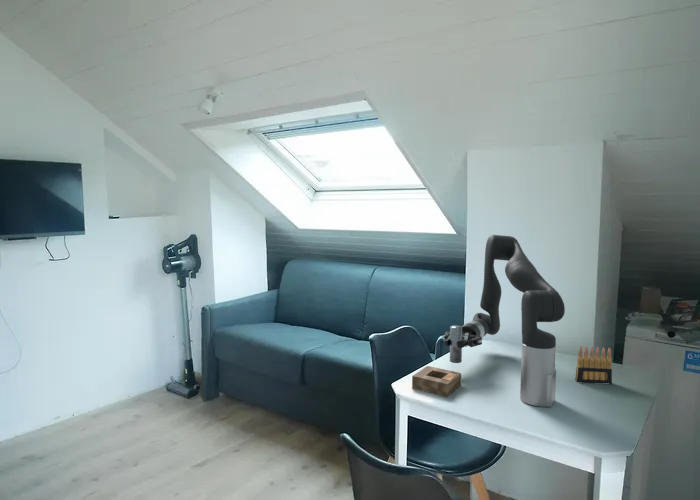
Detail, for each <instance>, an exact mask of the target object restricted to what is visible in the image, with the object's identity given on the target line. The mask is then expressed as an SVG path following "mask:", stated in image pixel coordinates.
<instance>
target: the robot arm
mask: <svg viewBox="0 0 700 500" xmlns="http://www.w3.org/2000/svg"><path fill="white" fill-rule="evenodd" d="M495 260H498V261H507V262H506V264H505V267H504V271H505V272H504V273H505V275H506V278H507V279H508V281H509V282H510V285H512V286H513V287H514V288H515V289H516V290H517V291H519V292H521V293H523V294H522V297H521V303H520V305H521V308H520V309H521V312H520V313H521V337H522V338H521V358H520V359H521V361H520V363H521V364H520V365H521V366H520V391H519V394H520V395H519V398H520V401H522V402H524V403H525V404H528V405H530V406H534V407H547V408H552V406H553V404H554V402H555V401H556V385H557V369H556V368H555V366H556V350H557V349H556V347H557V346H556V343H557V339H556V336H555V335H554V334H552V333H550V332H548V331H545V330H542V329H540V328H539V327H538V323H555V322H559V321H560V320H562V319H563V317H564V315H565V313H566V312H565V311H566V308H565V303H564V300H563V298H562V296H561V295H560V293H559V292H558V291H557V290H556V289H555V288H554V287H553V286H552V285H551V284H549V282H547V280H545V278H544V277H543V276H542V275H541V274H540V272H539V271H538V270H537V268H536V267H535V266H534V264H533V263H532V261H530V260H529V258H528V256H527V255H526V254H525V252H524V250H523V249H522V247H521V245H520V243H519V241H518V239H517V238H515V237H514V236H511V235H501V234H491V235H489V236H488V238H487V240H486V244H485V253H484V268H483V272H484V274H483V286H482V293H481V298H480V308H481V309H482V310H483V311H485V312H486V314H485V313H483V312H477V313H475V315H473V317H472V320H471V321H469V322H466V323H465V324H463V325H461V326H462V340H461V341H460V342H458V348H459V349H461V348H462V349H463V348H466V347H469V348H474V347H477V346H481V345H483V337H485V336H487V334H488V335H489V336H490V335H491V336H495V335H496V334H498V333H499V331H500V330H501V329H500V328H501V320H500V302H501V297H502V286H501V284H500V281H499V279H498V277H497V274H496V270H495ZM487 313H488V314H487ZM443 336H444V337H443V338H444V341H443V343H444V345H445V347H450V331H445V333H444V335H443Z"/></svg>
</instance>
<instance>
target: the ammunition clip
mask: <svg viewBox="0 0 700 500" xmlns="http://www.w3.org/2000/svg"><path fill="white" fill-rule="evenodd" d="M600 352H601V354H600ZM577 356H578V357H577V360H576V361H577V362H576V369H575V380H574V381H575V382H576V383H578V382H582V383H581V384H595V383H609V384H608V385H613V369H612V366H613V365H612V361H613V360H612V349H611V347H608V349H607V354H606V349H605V347H604V346H603V347H602V349H601V351H600V348H599V347H598V346H597V347H596V350H595V352H594V347H593V346H591V347H590V351H589V349H588V346H585V348H584V352H583V347H582V346H580V347H579V348H578V355H577Z"/></svg>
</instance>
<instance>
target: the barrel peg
mask: <svg viewBox="0 0 700 500" xmlns="http://www.w3.org/2000/svg"><path fill="white" fill-rule="evenodd" d="M462 326H463V325H457V324H454V325H450V326H449V333H450V345H449V362H450V363H451V364H452V363H453V364H461V363H462V361H463V360H462V359H463V357H462V356H463V348H461V349H459V348H458V342H460V341H461V340H462Z"/></svg>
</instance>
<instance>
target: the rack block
mask: <svg viewBox="0 0 700 500" xmlns="http://www.w3.org/2000/svg"><path fill="white" fill-rule="evenodd" d="M411 376H412V380H411V382H412V384H411V386H412V387H411V389H414V388H415V390H418V389H419V391H422V390H423V391H424V392H426V391H427V392H426V393H431V394H434V395H439V396H443V397H447V398H448V397H450V395H451V394H453V392H455V391H456V390H457V389H459V387H461V386H462V372H458V371H454V370H449V369H444V368H441V367H435V366H429V365H426V366H425V367H423V368H421V369H420V370H419V371H417V372H416V373H415V374H412V375H411ZM423 391H422V392H423Z"/></svg>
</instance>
